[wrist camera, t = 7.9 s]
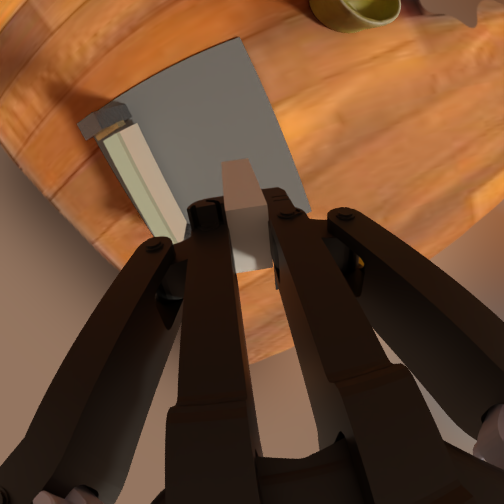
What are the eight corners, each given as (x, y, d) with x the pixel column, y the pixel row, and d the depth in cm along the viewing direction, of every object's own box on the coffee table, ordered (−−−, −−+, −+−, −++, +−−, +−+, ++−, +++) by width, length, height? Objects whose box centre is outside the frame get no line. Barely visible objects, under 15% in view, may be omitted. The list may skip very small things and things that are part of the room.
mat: (85, 119, 30) (84, 120, 30) (239, 37, 27) (239, 37, 27) (176, 268, 44) (176, 269, 44) (311, 210, 41) (311, 211, 41)
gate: (188, 219, 39) (182, 256, 31) (178, 223, 39) (169, 260, 32) (139, 121, 31) (116, 133, 23) (129, 127, 31) (102, 141, 24)
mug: (322, 52, 28) (362, 13, 18) (287, -7, 25) (313, -52, 16) (391, 45, 29) (435, 18, 19) (358, -9, 26) (392, -41, 17)
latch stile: (111, 113, 30) (73, 126, 21) (129, 102, 30) (95, 109, 21) (119, 129, 32) (85, 148, 23) (137, 118, 31) (108, 132, 22)
